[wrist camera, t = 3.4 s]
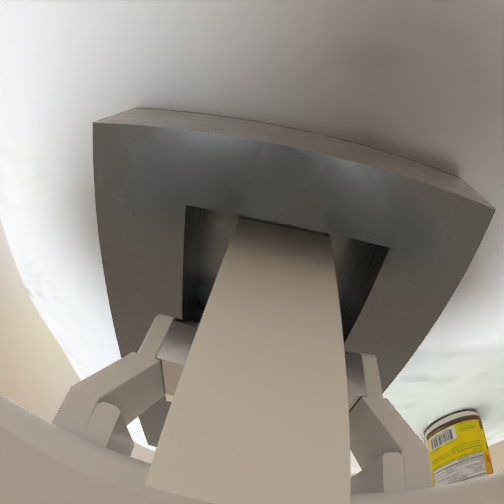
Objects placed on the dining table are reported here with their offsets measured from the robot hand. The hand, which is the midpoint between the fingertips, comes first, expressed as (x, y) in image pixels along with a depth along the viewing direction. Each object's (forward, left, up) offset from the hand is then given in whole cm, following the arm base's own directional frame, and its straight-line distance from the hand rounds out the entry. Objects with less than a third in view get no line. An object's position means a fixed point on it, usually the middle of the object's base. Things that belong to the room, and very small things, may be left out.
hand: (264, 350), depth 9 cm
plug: (0, 0, -5) cm, 5 cm away
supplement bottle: (+14, +19, -5) cm, 24 cm away
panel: (+7, 0, -5) cm, 8 cm away
